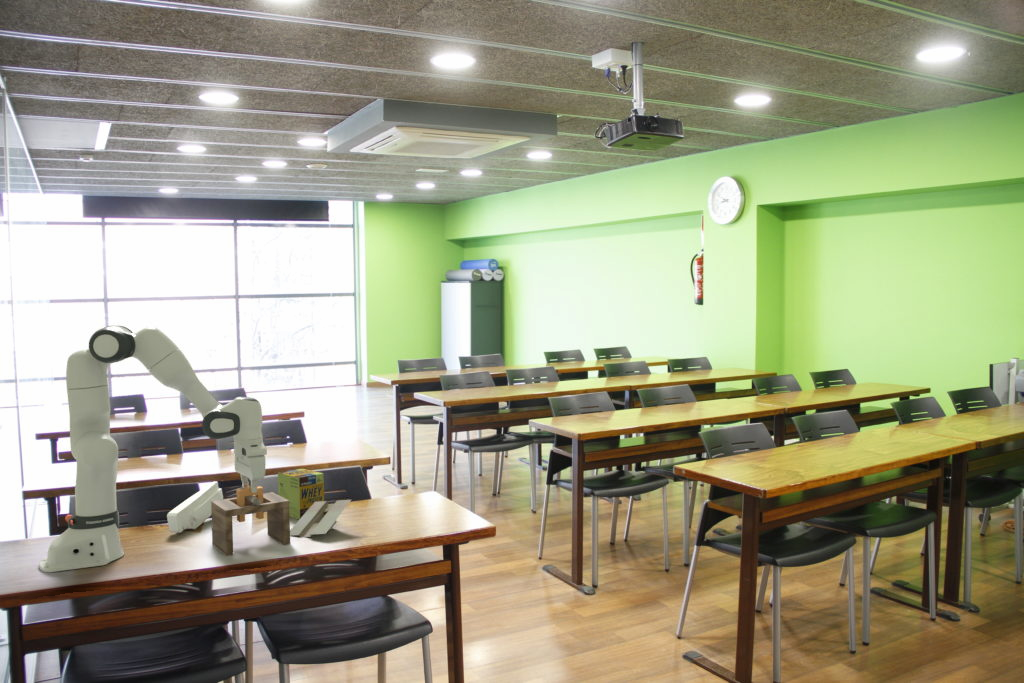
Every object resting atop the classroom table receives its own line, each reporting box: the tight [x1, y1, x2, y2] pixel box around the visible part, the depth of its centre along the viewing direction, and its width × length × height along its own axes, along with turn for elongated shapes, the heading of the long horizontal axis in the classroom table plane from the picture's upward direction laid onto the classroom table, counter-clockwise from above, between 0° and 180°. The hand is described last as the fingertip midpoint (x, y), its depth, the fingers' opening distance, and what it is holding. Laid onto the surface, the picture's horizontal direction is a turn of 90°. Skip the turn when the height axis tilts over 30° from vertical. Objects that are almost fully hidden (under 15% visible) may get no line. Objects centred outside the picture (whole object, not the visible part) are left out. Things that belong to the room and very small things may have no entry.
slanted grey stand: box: [290, 499, 352, 538], centre depth 263 cm, size 19×10×17 cm
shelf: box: [211, 491, 291, 557], centre depth 249 cm, size 20×16×16 cm
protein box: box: [277, 468, 325, 521], centre depth 287 cm, size 10×15×16 cm
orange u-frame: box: [235, 485, 265, 523], centre depth 249 cm, size 8×3×10 cm, turn 126°
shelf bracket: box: [166, 480, 224, 534], centre depth 274 cm, size 6×27×14 cm, turn 169°
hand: (249, 489), depth 249 cm, fingers open, 7 cm apart
